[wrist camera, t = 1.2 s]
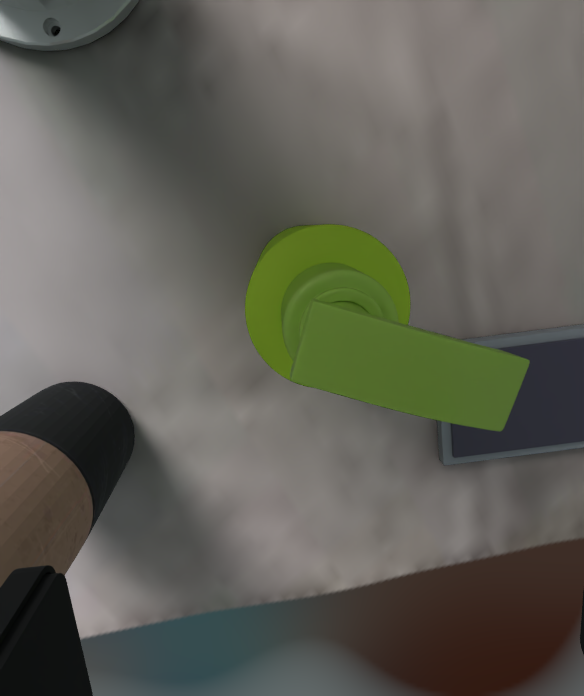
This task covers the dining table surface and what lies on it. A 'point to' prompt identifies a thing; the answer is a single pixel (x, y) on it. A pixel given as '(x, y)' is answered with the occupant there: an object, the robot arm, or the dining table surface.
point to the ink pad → (529, 400)
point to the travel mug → (58, 472)
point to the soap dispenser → (368, 332)
